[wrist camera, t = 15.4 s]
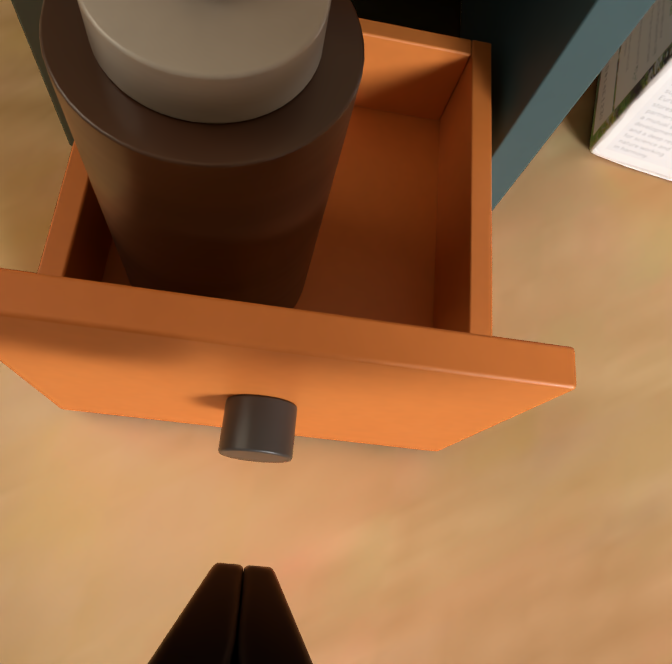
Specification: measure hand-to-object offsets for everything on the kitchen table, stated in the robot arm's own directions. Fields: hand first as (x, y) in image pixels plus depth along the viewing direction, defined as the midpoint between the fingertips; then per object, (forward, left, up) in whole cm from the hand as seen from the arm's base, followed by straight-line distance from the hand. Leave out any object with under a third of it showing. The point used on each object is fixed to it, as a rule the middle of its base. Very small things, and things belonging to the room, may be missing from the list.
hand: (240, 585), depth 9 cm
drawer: (+7, -4, -7) cm, 11 cm away
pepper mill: (+8, -3, -6) cm, 10 cm away
